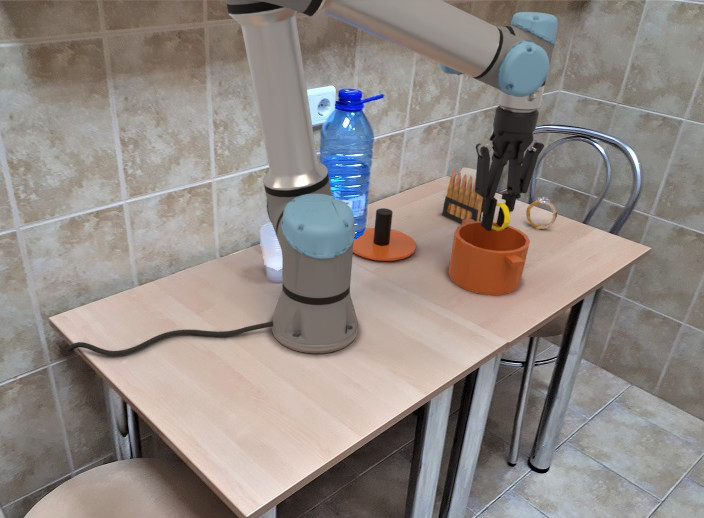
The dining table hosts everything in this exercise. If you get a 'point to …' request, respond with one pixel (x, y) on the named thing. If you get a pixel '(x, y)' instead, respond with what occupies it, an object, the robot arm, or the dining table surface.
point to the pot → (487, 258)
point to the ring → (538, 202)
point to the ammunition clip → (462, 200)
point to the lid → (384, 240)
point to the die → (468, 175)
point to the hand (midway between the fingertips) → (493, 226)
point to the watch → (506, 214)
